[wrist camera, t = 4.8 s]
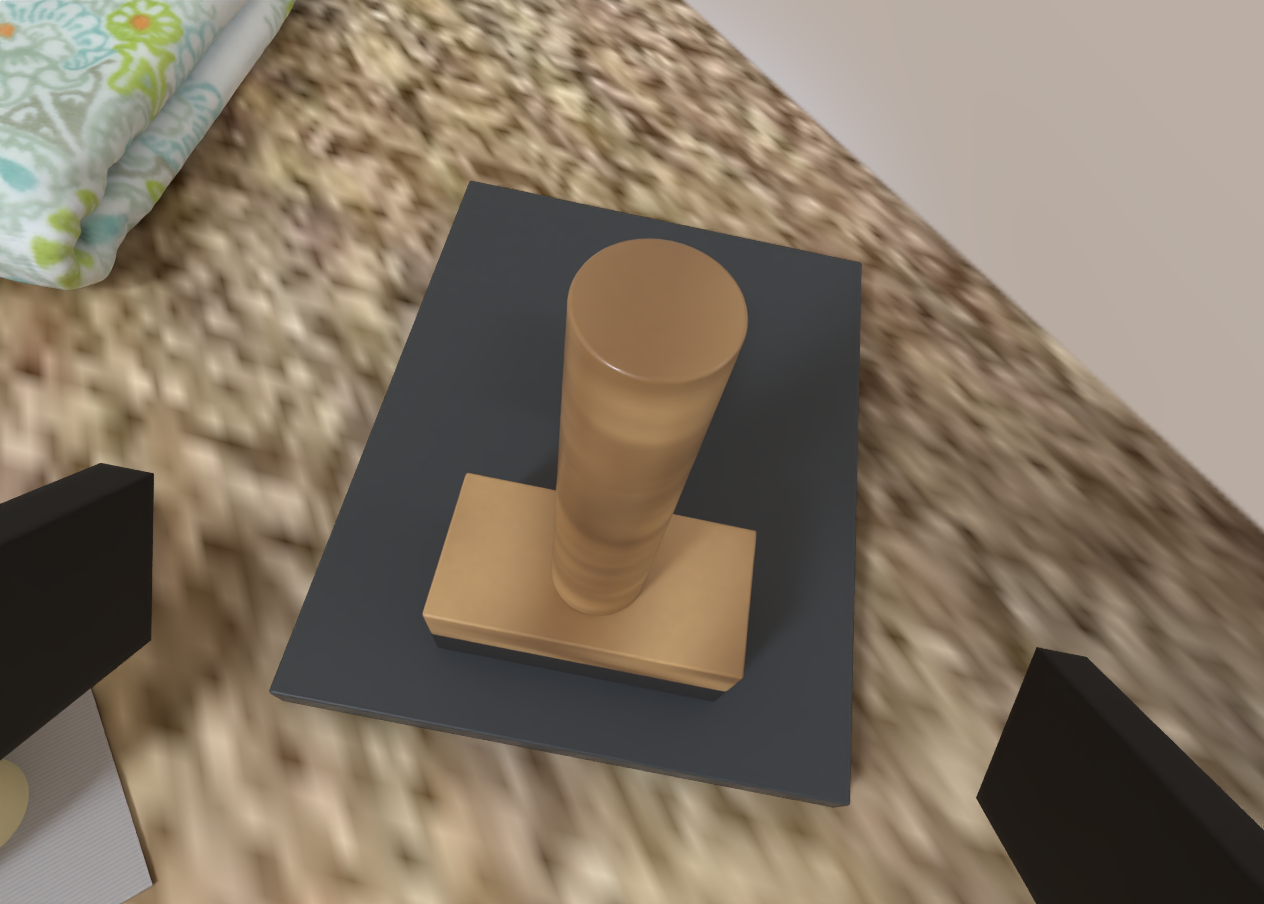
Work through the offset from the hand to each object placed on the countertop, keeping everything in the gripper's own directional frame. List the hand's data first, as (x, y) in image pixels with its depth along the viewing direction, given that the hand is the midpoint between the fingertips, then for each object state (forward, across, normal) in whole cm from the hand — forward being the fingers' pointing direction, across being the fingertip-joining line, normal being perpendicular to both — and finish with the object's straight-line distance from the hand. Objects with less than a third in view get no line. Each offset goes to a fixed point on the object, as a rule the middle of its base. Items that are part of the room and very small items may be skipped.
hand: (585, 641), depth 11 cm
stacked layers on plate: (+5, -16, -11) cm, 20 cm away
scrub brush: (+10, 0, -5) cm, 11 cm away
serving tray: (+15, 0, -1) cm, 15 cm away
